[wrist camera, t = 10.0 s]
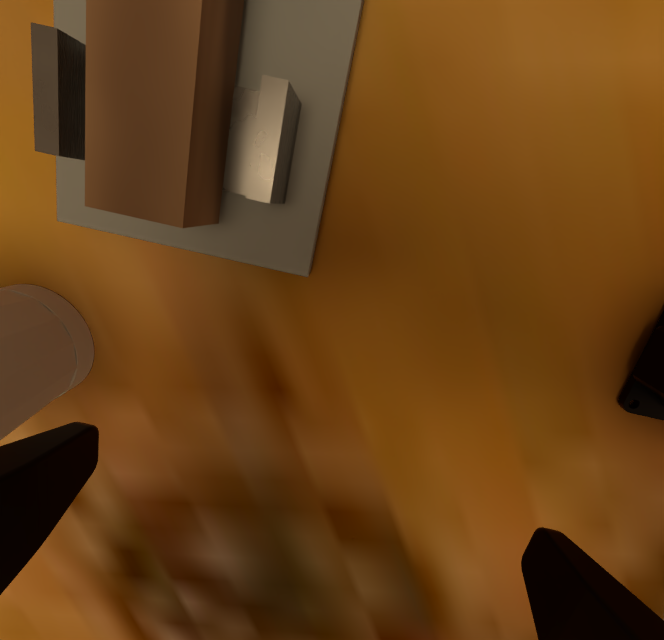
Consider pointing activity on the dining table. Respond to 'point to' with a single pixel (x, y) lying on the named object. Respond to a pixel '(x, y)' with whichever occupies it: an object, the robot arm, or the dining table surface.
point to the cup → (38, 351)
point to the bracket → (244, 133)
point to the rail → (159, 106)
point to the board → (310, 146)
